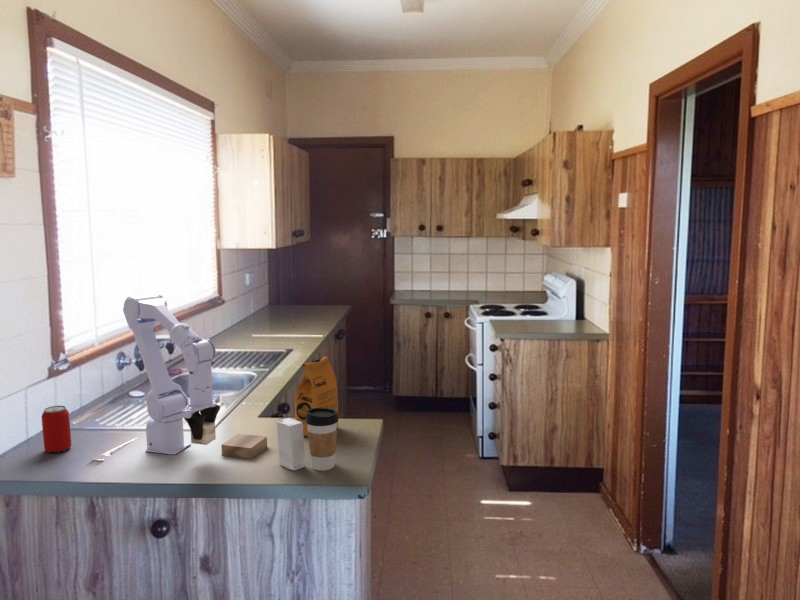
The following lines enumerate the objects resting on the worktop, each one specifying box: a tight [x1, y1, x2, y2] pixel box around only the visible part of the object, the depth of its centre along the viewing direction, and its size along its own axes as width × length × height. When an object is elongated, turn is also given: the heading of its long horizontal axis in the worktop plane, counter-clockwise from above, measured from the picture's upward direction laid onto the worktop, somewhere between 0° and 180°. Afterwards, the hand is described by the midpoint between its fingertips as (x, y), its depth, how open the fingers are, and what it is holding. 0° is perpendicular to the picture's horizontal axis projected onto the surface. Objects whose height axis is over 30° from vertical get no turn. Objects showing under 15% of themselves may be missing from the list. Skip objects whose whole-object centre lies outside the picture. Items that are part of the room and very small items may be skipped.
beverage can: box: [41, 405, 72, 453], centre depth 179 cm, size 7×7×12 cm
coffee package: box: [294, 356, 339, 438], centre depth 192 cm, size 10×12×22 cm
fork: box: [87, 437, 138, 462], centre depth 179 cm, size 3×20×2 cm, turn 168°
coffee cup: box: [306, 408, 339, 472], centre depth 167 cm, size 8×8×15 cm
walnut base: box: [221, 433, 268, 460], centre depth 178 cm, size 9×9×3 cm
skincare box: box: [276, 417, 306, 472], centre depth 167 cm, size 6×4×12 cm
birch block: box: [190, 422, 217, 446], centre depth 171 cm, size 4×4×4 cm
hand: (203, 435), depth 171 cm, fingers closed on birch block, 4 cm apart
